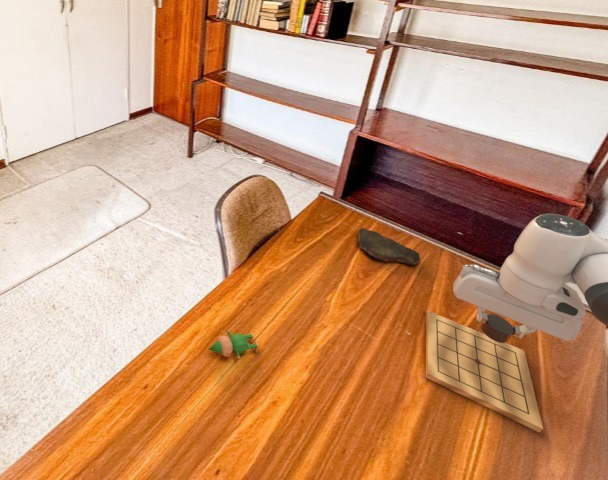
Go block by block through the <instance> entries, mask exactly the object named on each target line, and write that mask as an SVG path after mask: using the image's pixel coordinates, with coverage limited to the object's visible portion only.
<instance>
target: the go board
mask: <svg viewBox="0 0 608 480" xmlns="http://www.w3.org/2000/svg"><path fill="white" fill-rule="evenodd" d="M527 360H528V359H527V356H526V352H525V350H524V349H521V348H520V347H517V346H515V345H512V344H510V343H508V342H507V343H499V342H496V341H494V340H492V339H490V338H489V337H488V336H486V335H485V334H484V332H481V331H478V330H475V329H474V328H471V327H468V326H466V325H464V324H461V323H459V322H457V321H454V320H452V319H449V318H447V317H444V316H442V315H439V314H437V313H435V312H432V311H430V310H427V311H426V313H425V378H426V379H427V380H430V381H432V382H433V383H436V384H438V385H440V386H442V387H444V388H446V389H448V390H450V391H452V392H454V393H457V394H459V395H461V396H463V397H465V398H467V399H469V400H471V401H473V402H475V403H477V404H479V405H482V406H483V407H485V408H487V409H490V410H492V411H494V412H496V413H498V414H500V415H502V416H504V417H506V418H509V419H511V420H512V421H515V422H516V423H519V424H521V425H522V426H525V427H527V428H529V429H531V430H533V431H535V432H537V433H539V434H540V433H541V432H542V431H543V430H544V427H543V422H542V419H541V414H540V410H539V405H538V401H537V398H536V394H535V393H536V392H535V389H534V385H533V381H532V376H531V373H530V368H529V365H528V361H527Z"/></svg>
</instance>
